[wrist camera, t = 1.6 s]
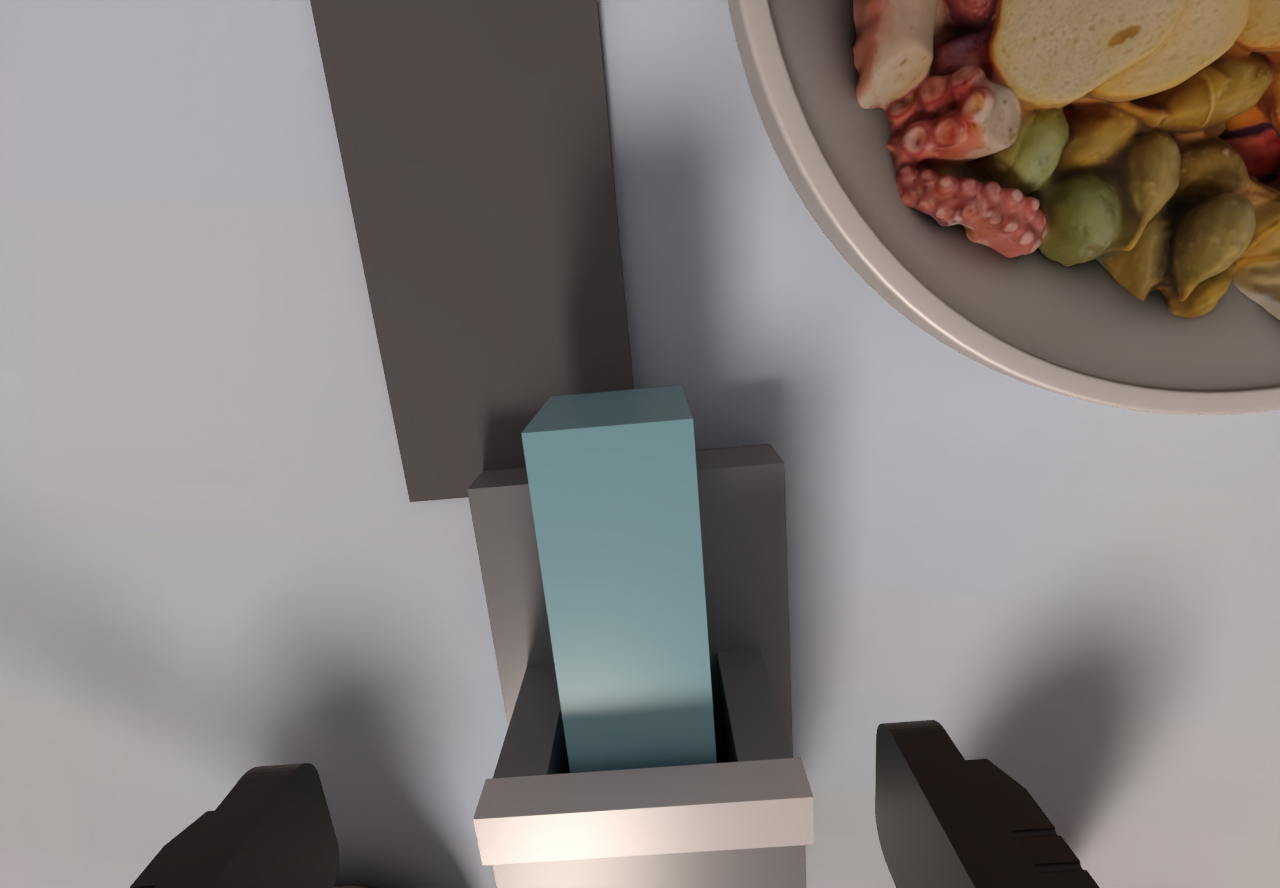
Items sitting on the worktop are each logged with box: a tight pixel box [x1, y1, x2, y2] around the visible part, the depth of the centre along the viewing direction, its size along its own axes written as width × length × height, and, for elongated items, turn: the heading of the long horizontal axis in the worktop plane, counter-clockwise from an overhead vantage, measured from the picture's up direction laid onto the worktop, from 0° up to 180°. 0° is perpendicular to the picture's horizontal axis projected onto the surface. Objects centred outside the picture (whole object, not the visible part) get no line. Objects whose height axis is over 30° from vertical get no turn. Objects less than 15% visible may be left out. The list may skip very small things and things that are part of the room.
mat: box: [310, 0, 633, 502], centre depth 22 cm, size 9×18×1 cm, turn 5°
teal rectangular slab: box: [521, 385, 717, 773], centre depth 20 cm, size 4×14×5 cm, turn 5°
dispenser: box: [467, 444, 814, 888], centre depth 22 cm, size 11×22×9 cm, turn 5°
